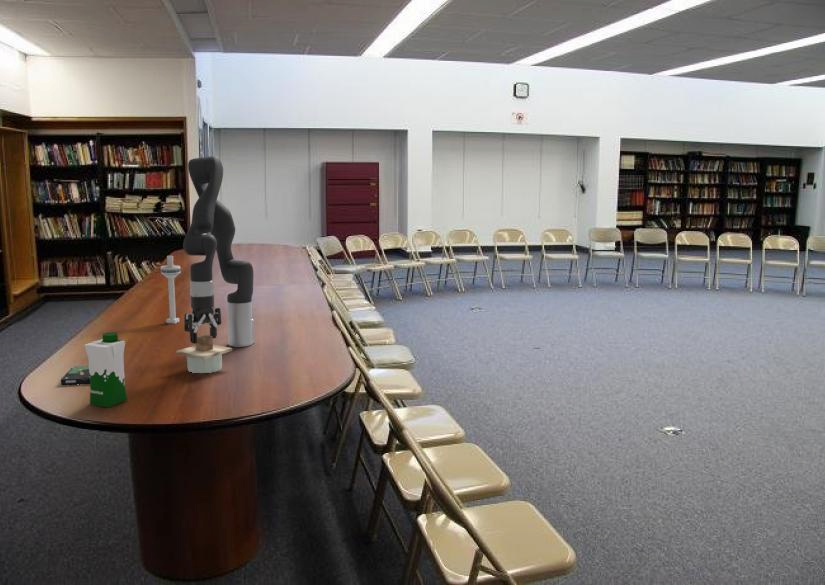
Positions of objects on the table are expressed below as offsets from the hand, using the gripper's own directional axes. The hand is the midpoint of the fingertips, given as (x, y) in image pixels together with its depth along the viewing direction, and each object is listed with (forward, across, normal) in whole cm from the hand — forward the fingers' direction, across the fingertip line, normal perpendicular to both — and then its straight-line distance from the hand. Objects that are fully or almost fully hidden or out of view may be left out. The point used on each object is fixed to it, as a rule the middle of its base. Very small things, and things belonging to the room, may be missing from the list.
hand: (203, 340), depth 226 cm
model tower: (+10, -45, -67) cm, 81 cm away
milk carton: (+10, +39, +2) cm, 40 cm away
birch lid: (+4, 0, 0) cm, 4 cm away
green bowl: (+10, 0, 0) cm, 10 cm away
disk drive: (+11, +28, -25) cm, 39 cm away
